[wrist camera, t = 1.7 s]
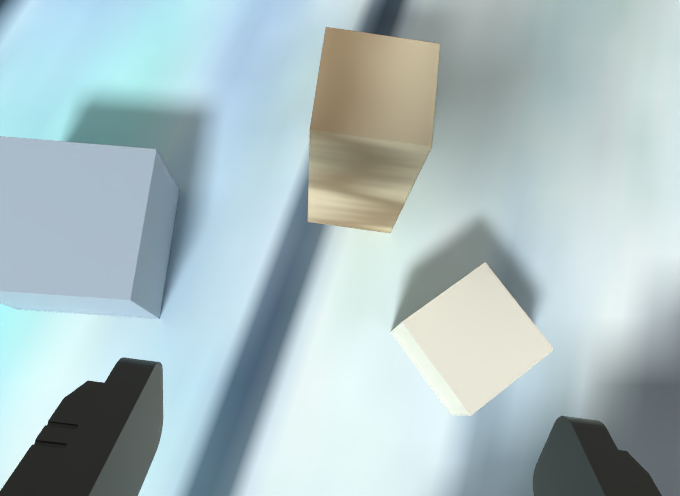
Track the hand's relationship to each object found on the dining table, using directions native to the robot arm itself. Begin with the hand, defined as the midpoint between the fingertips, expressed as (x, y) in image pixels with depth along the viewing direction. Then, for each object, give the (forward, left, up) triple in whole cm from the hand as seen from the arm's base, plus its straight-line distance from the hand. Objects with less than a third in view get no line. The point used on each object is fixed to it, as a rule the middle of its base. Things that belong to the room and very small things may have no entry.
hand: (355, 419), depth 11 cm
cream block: (-7, -3, -16) cm, 18 cm away
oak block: (-3, -12, -16) cm, 20 cm away
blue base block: (+10, -10, -16) cm, 22 cm away
